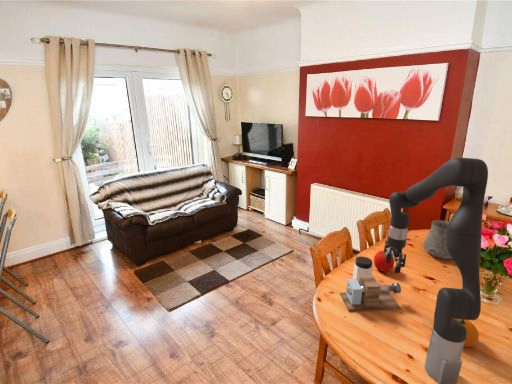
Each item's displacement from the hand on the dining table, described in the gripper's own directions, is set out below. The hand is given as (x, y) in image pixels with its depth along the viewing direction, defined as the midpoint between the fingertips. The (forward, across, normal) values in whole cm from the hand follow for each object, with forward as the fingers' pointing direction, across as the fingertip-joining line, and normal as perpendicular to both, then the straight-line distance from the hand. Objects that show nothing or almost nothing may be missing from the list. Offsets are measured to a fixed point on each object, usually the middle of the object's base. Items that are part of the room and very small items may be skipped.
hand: (392, 267), depth 134 cm
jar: (+18, +17, +6) cm, 26 cm away
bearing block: (+18, 0, +10) cm, 20 cm away
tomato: (+18, +27, -10) cm, 34 cm away
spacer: (+16, 0, +17) cm, 23 cm away
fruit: (+18, -24, -17) cm, 35 cm away
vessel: (+19, +41, -52) cm, 69 cm away
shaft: (+13, 0, +8) cm, 15 cm away
